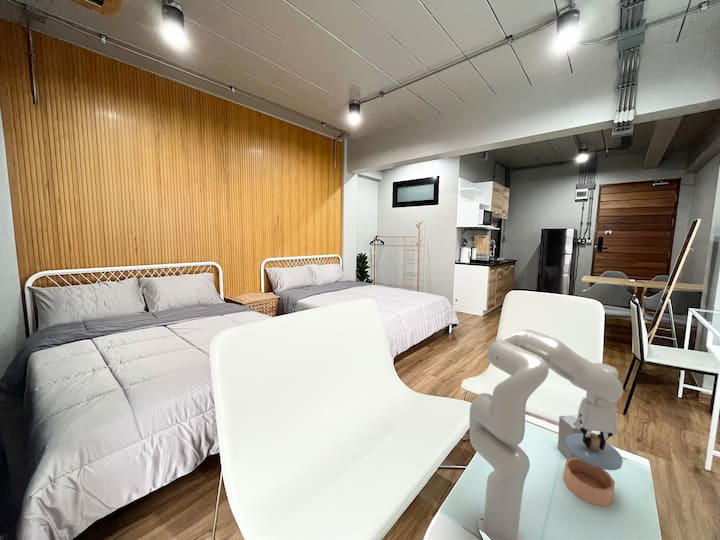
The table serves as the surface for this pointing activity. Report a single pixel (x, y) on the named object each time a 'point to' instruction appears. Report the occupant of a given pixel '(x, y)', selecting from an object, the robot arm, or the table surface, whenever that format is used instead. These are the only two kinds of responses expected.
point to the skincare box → (566, 433)
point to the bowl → (589, 482)
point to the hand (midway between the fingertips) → (593, 445)
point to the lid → (594, 452)
